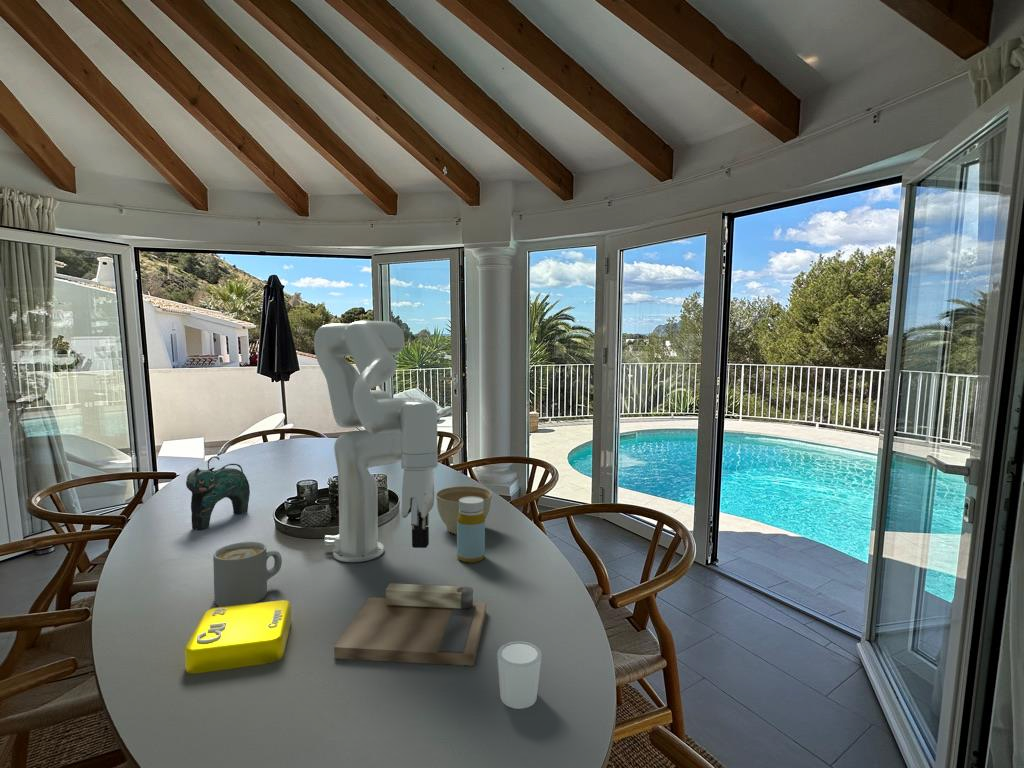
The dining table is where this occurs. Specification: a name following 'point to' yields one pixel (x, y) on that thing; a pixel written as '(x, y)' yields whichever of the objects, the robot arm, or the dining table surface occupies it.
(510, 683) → the shot glass
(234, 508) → the ceramic cat
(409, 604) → the folding leg
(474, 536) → the bottle
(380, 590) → the dining table surface
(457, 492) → the planter bowl
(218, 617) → the element tile
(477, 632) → the stool seat
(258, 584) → the coffee mug
